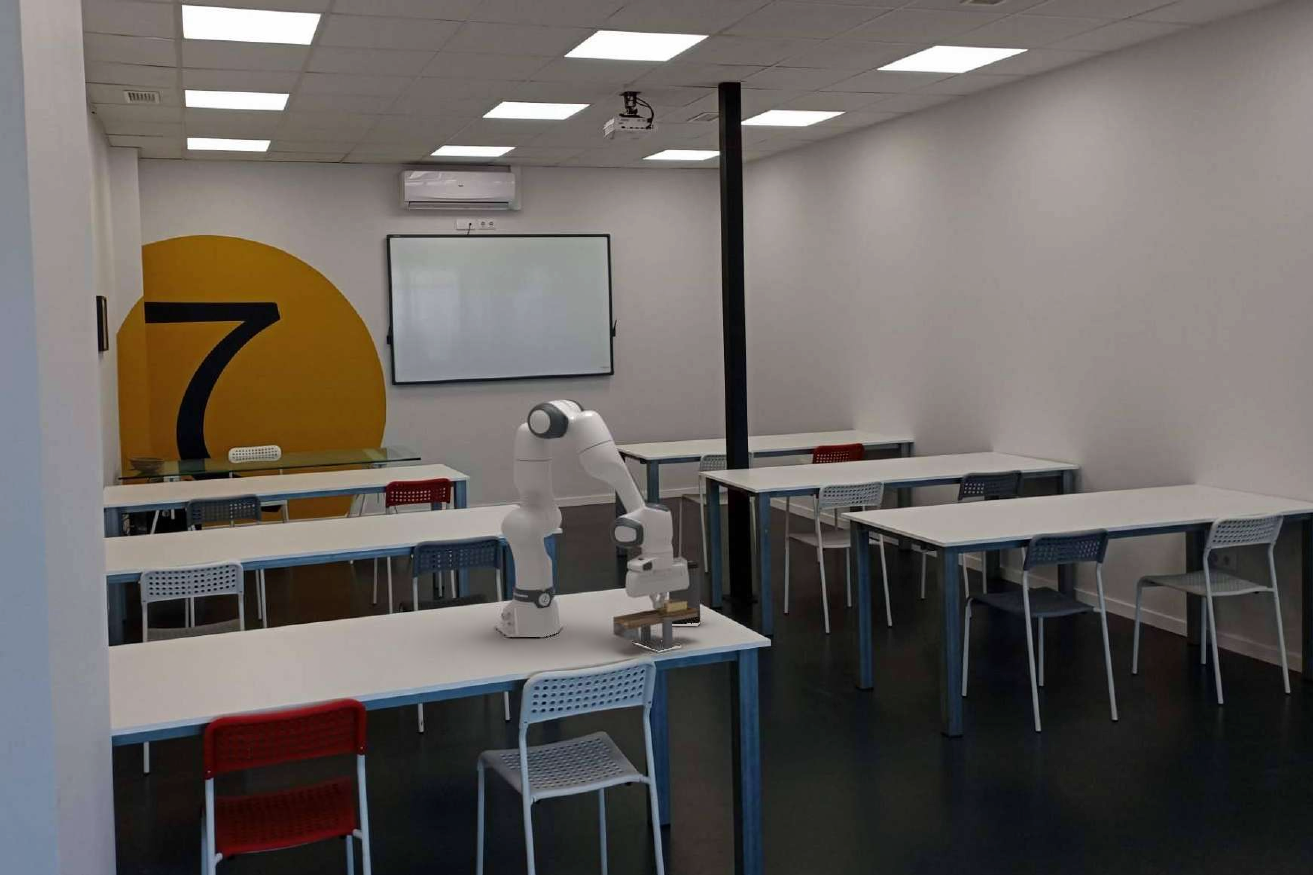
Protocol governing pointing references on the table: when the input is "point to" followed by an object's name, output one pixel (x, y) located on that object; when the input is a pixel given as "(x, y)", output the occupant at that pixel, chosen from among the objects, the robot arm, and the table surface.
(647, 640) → the stand
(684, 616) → the beam
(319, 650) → the table surface
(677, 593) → the electronic device
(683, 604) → the rider
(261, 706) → the table surface
